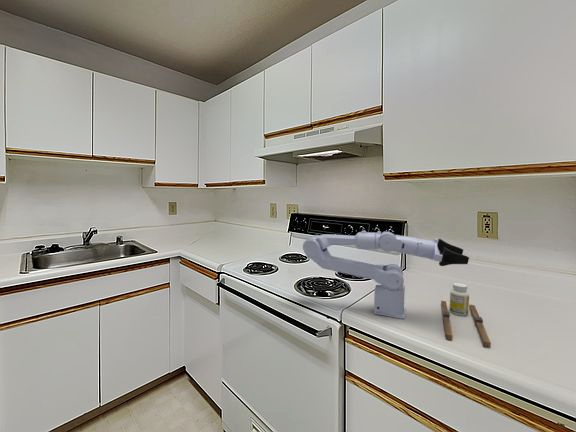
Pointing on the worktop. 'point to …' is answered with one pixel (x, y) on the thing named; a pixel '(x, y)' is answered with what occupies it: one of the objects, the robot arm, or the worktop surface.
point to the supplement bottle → (459, 299)
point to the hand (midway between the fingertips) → (465, 256)
